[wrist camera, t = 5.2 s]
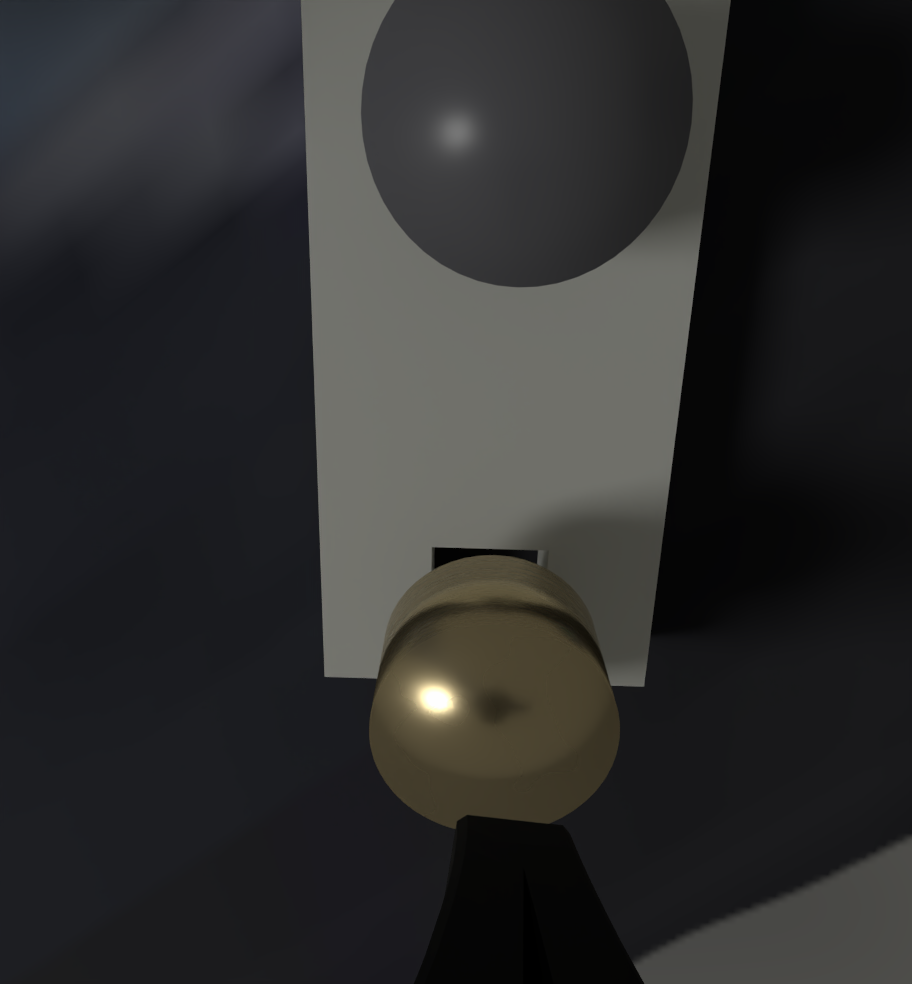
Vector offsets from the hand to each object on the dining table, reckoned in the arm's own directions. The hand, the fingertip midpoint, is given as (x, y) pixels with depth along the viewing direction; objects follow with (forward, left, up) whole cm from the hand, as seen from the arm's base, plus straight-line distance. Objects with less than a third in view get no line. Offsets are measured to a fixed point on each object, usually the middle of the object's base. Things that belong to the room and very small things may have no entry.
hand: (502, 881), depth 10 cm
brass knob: (0, 0, -7) cm, 7 cm away
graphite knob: (-6, +6, -7) cm, 11 cm away
